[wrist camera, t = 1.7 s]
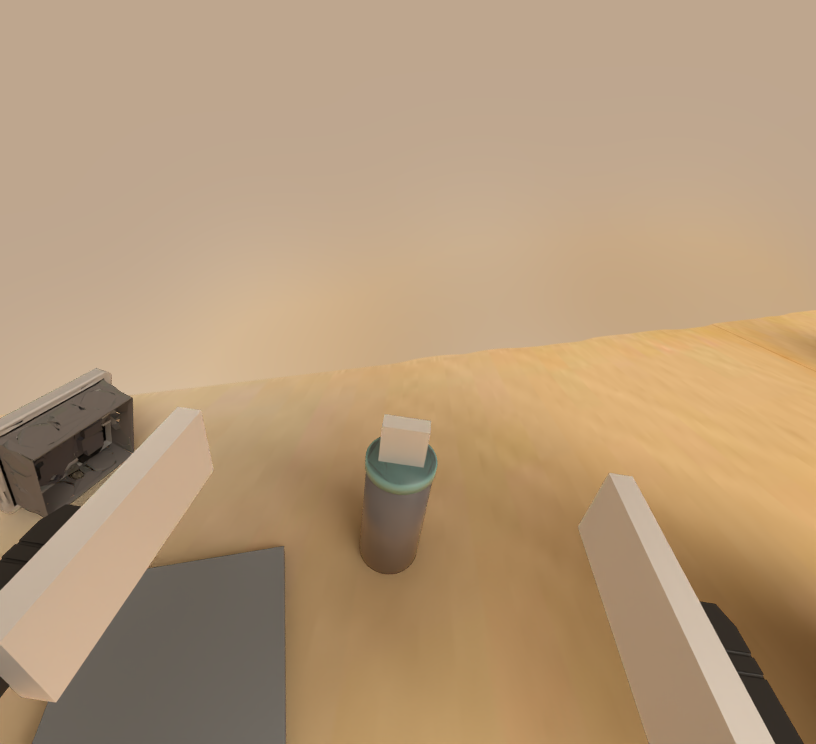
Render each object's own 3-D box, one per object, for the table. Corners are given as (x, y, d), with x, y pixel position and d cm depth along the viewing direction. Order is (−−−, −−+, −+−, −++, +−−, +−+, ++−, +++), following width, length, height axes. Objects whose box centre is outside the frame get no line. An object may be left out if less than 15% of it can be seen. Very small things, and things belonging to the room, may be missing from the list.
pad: (284, 552, 30) (283, 546, 29) (286, 762, 20) (285, 757, 20) (100, 583, 27) (96, 576, 26) (-1, 852, 17) (-9, 849, 17)
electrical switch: (109, 437, 38) (84, 358, 32) (155, 456, 37) (138, 378, 32) (-2, 515, 30) (-57, 427, 25) (54, 540, 29) (9, 456, 24)
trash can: (419, 524, 33) (445, 405, 26) (415, 579, 29) (444, 456, 22) (364, 516, 33) (375, 395, 26) (352, 570, 29) (362, 444, 22)
